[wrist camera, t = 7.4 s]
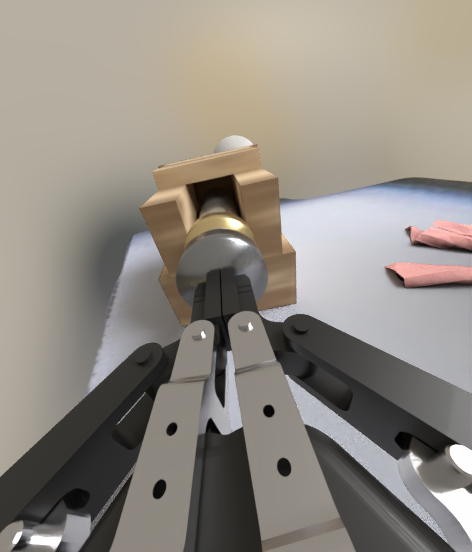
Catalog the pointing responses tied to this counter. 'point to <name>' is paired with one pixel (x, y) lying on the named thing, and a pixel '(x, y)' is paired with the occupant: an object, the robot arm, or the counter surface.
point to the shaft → (219, 247)
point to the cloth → (437, 273)
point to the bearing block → (250, 207)
